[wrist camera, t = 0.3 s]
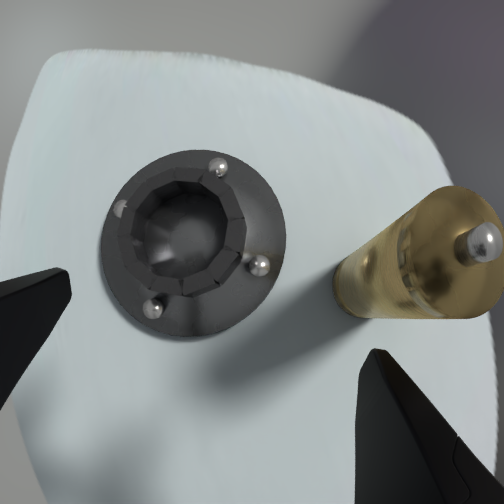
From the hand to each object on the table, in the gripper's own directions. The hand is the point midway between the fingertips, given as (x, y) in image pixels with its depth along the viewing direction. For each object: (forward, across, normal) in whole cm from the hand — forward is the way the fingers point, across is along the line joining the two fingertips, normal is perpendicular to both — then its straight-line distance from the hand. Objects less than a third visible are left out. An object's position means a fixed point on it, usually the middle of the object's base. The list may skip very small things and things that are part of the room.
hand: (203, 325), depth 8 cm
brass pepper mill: (+14, -8, +5) cm, 17 cm away
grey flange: (+14, +5, +4) cm, 16 cm away
